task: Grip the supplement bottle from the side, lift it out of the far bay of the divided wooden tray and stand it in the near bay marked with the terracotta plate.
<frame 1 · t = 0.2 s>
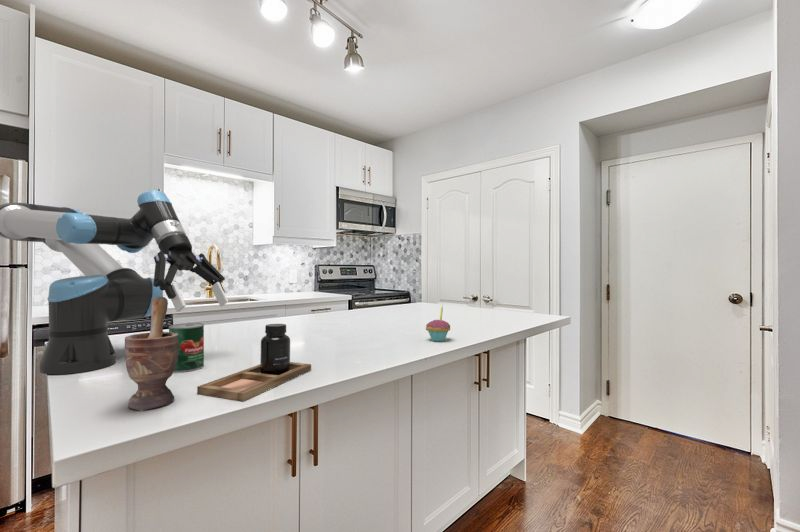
hand: (204, 306, 101), 15 cm above the counter, tool tilted 35°, fingers open, 13 cm apart
mortar and pestle: (151, 402, 75), on the counter
divided wooden tray: (259, 380, 87), on the counter
cupcake: (438, 340, 133), on the counter
supplement bottle: (275, 375, 92), resting in divided wooden tray
canned tomato: (186, 368, 98), on the counter
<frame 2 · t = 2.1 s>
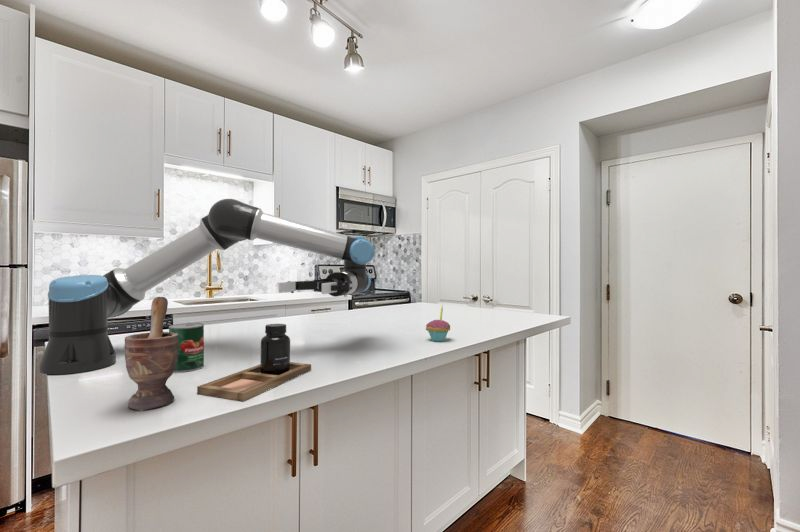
hand: (300, 288, 102), 20 cm above the counter, tool horizontal, fingers open, 13 cm apart
nothing on the counter moved.
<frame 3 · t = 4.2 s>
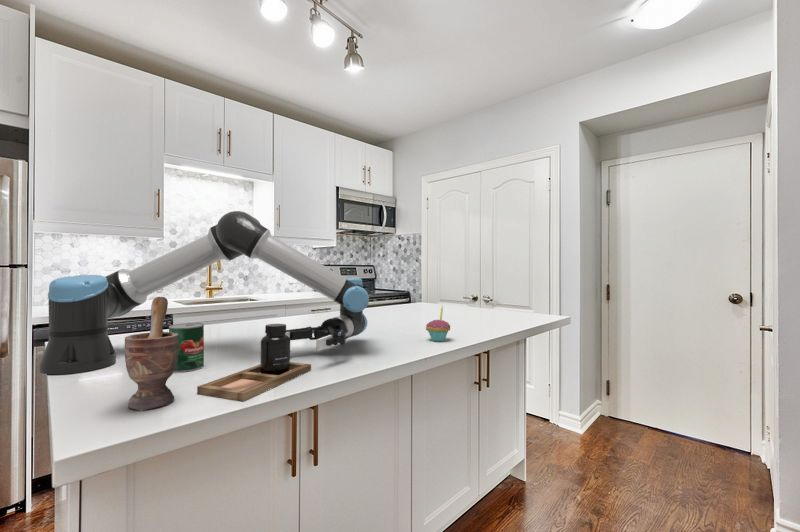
hand: (294, 343, 99), 6 cm above the counter, tool horizontal, fingers open, 13 cm apart
nothing on the counter moved.
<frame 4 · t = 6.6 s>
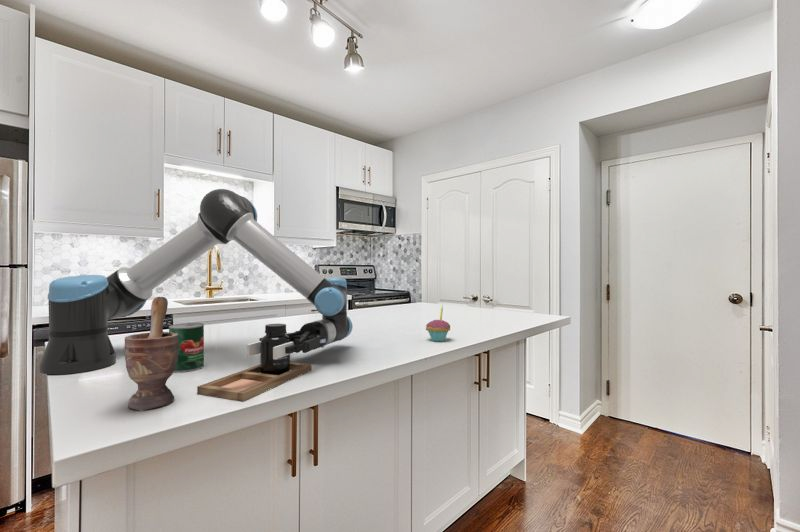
hand: (261, 351, 87), 7 cm above the counter, tool horizontal, fingers closed on supplement bottle, 7 cm apart
supplement bottle: (275, 375, 92), resting in divided wooden tray, touching gripper
everything else where it was.
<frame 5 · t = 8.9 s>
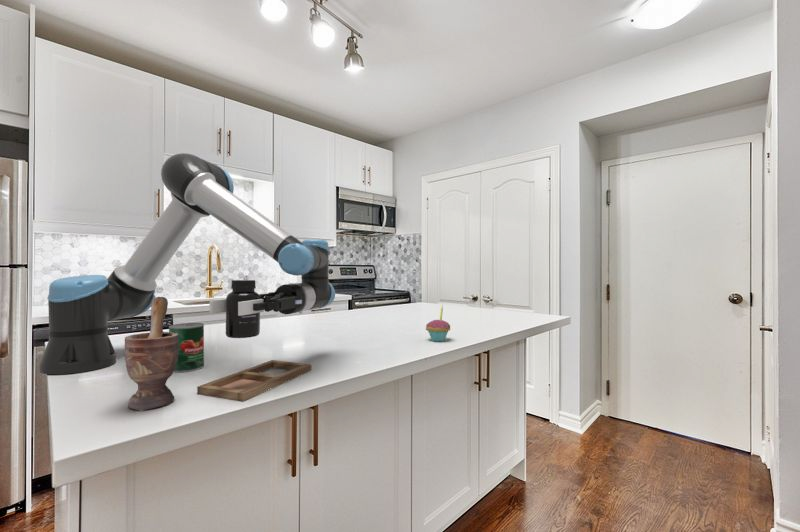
hand: (225, 308, 78), 18 cm above the counter, tool horizontal, fingers closed on supplement bottle, 7 cm apart
supplement bottle: (243, 336, 82), point 11 cm above the counter, touching gripper
everything else where it was.
when the fingers open (8 cm above the counter, at t = 11.1 s): supplement bottle drops 1 cm, resting on divided wooden tray.
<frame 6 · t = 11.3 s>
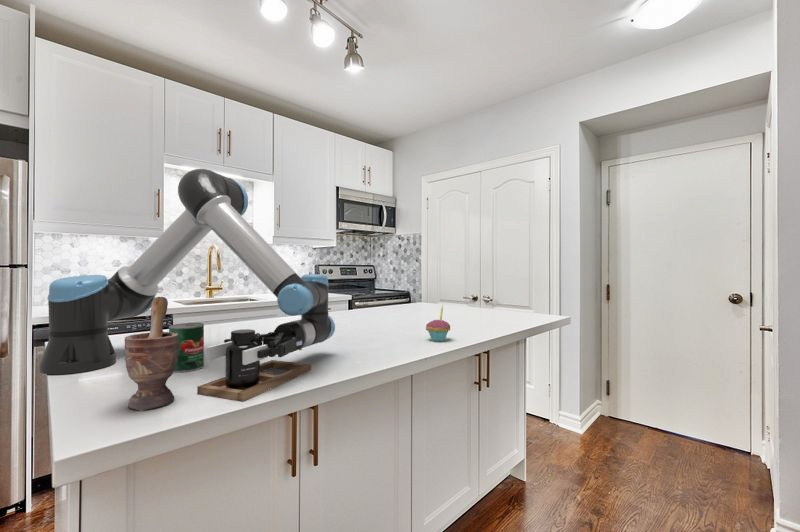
hand: (225, 355, 78), 8 cm above the counter, tool horizontal, fingers open, 9 cm apart
supplement bottle: (243, 387, 82), resting on divided wooden tray
everything else where it was.
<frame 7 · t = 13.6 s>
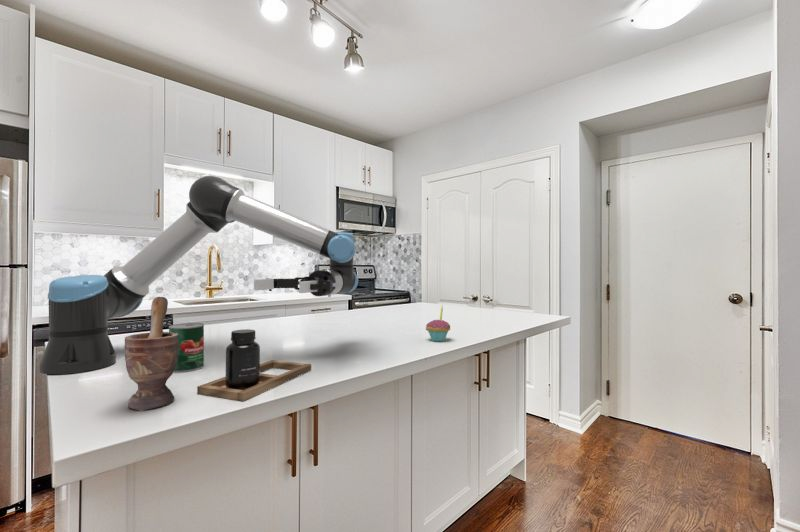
hand: (277, 286, 93), 21 cm above the counter, tool horizontal, fingers open, 13 cm apart
nothing on the counter moved.
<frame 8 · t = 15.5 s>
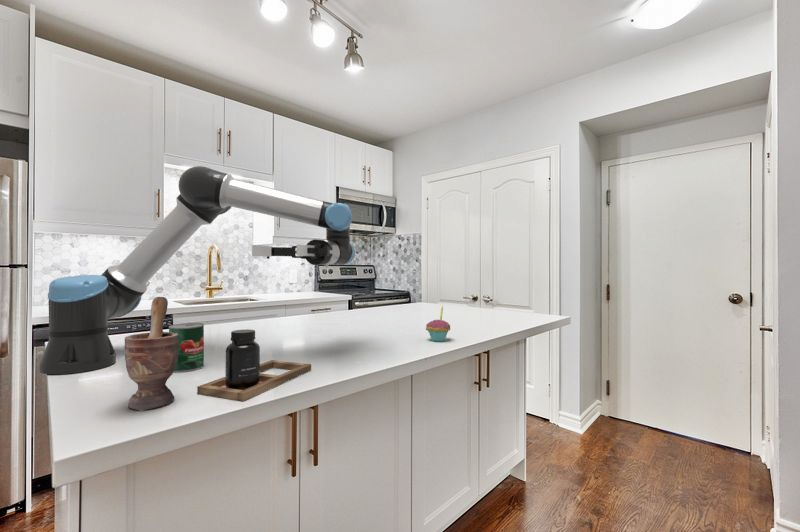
hand: (274, 250, 95), 30 cm above the counter, tool horizontal, fingers open, 13 cm apart
nothing on the counter moved.
at the end: supplement bottle inside the target area (0.3 cm from its centre), resting on divided wooden tray; supplement bottle tilted 0°; the gripper is holding nothing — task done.
